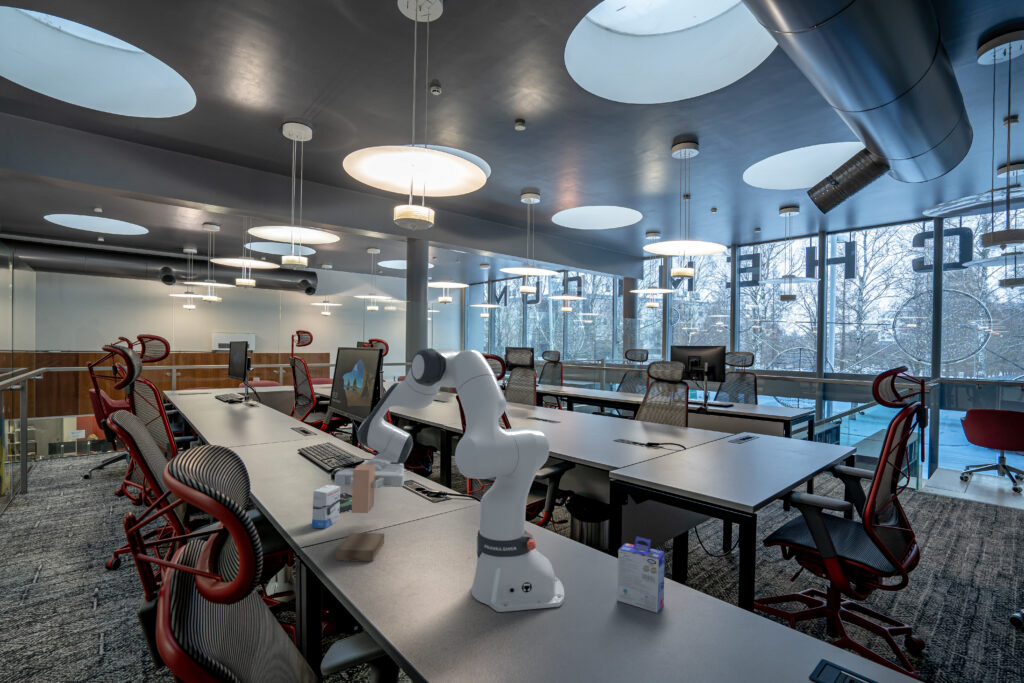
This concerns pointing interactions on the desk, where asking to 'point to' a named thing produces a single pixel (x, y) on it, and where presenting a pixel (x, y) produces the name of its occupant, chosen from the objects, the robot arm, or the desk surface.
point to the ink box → (326, 506)
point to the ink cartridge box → (641, 575)
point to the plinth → (360, 547)
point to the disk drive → (345, 502)
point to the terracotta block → (363, 488)
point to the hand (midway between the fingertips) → (363, 485)
